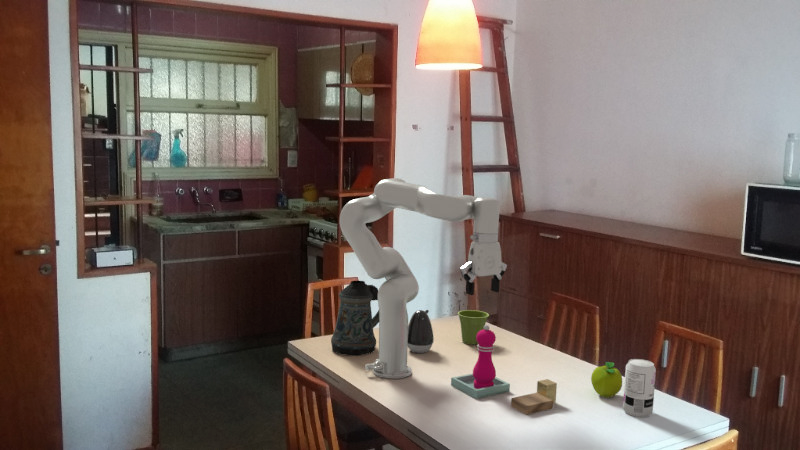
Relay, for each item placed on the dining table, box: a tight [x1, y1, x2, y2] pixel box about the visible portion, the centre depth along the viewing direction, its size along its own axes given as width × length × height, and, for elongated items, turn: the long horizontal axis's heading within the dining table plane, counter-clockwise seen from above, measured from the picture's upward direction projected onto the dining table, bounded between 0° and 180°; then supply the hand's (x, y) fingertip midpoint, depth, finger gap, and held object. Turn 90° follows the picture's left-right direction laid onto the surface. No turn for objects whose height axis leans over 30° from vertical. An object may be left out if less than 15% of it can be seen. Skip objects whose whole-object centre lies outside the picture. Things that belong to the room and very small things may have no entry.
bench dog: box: [536, 378, 558, 404], centre depth 215 cm, size 4×4×6 cm
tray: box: [450, 373, 511, 400], centre depth 225 cm, size 13×13×2 cm
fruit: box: [590, 361, 623, 398], centre depth 221 cm, size 9×9×10 cm
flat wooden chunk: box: [510, 392, 554, 416], centre depth 210 cm, size 10×7×3 cm
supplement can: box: [622, 358, 657, 418], centre depth 208 cm, size 8×8×15 cm
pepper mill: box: [472, 324, 497, 389], centre depth 223 cm, size 7×7×20 cm
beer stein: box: [330, 280, 379, 357], centre depth 261 cm, size 16×19×25 cm
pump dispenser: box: [408, 309, 435, 354], centre depth 261 cm, size 10×10×15 cm
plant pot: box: [457, 309, 490, 346], centre depth 274 cm, size 12×12×11 cm
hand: (482, 292), depth 222 cm, fingers open, 9 cm apart
